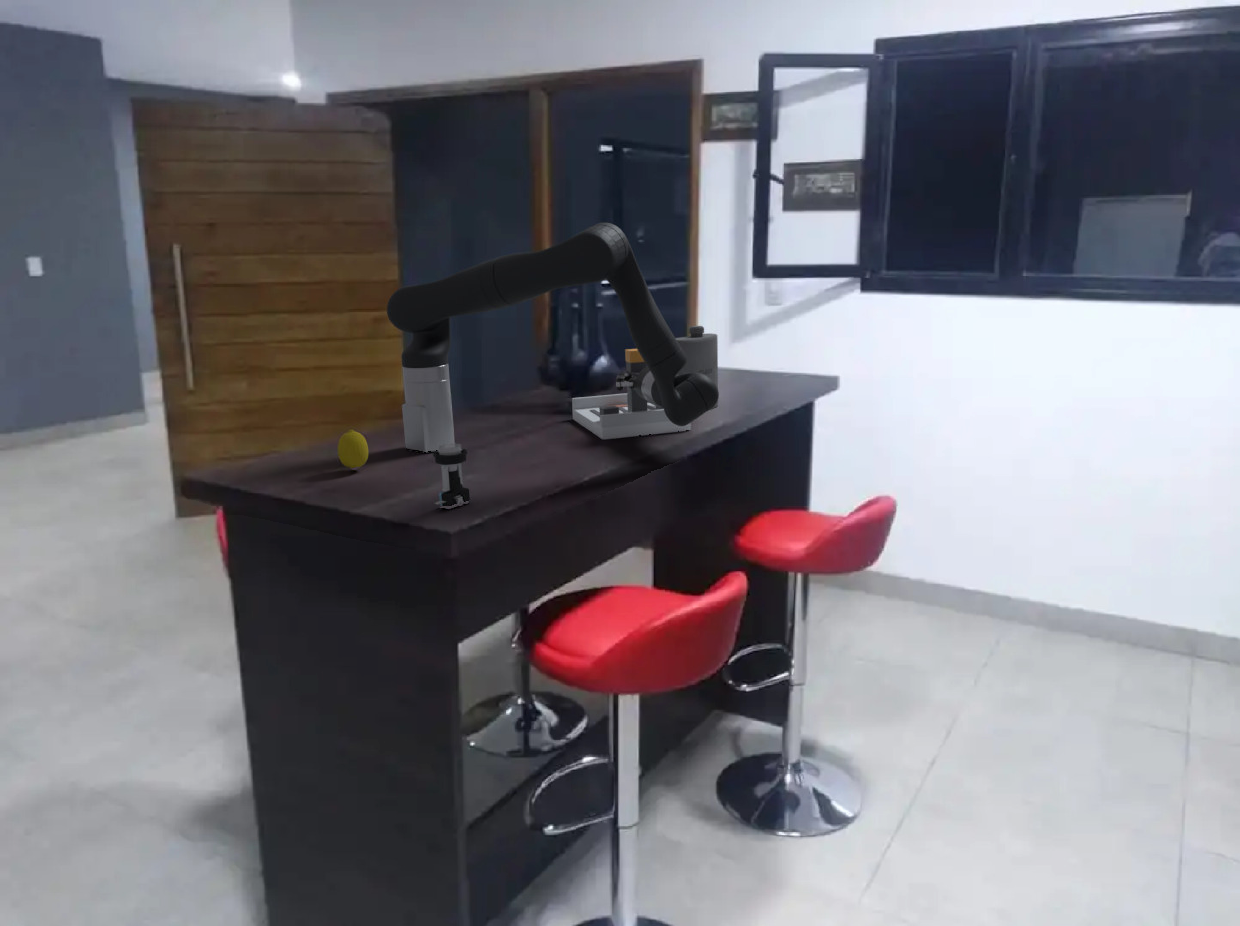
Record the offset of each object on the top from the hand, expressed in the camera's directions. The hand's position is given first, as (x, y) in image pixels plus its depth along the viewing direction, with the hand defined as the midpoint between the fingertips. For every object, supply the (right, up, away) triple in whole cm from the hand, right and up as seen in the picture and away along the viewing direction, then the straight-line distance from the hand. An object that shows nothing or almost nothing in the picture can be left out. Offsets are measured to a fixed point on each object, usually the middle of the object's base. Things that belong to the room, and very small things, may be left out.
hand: (632, 375), depth 199 cm
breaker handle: (+1, -9, -1) cm, 9 cm away
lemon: (-53, -21, -27) cm, 63 cm away
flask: (+16, -6, +20) cm, 27 cm away
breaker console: (-1, -11, +6) cm, 12 cm away
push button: (-30, -27, -53) cm, 66 cm away
